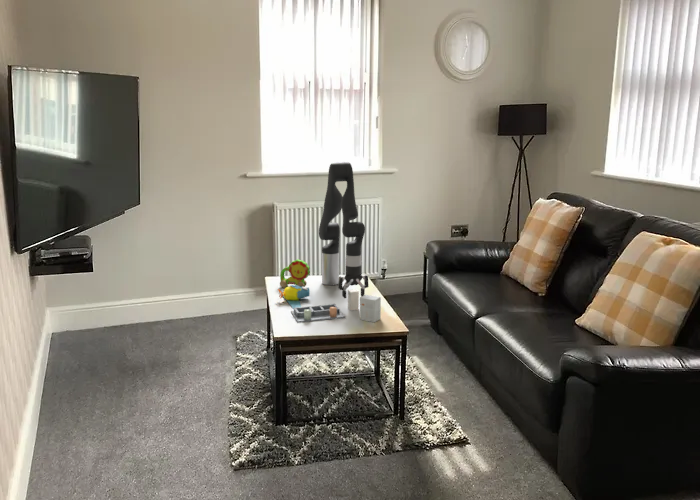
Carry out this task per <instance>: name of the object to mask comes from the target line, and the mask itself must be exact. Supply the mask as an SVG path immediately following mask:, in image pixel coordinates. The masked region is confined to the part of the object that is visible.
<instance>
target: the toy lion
mask: <svg viewBox="0 0 700 500" xmlns="http://www.w3.org/2000/svg"><path fill="white" fill-rule="evenodd" d="M310 269H311V268H310V266H309V263H307V262H306V261H304V260H303V259H301V260H300V259H299V258H298V259H296V260H295V259H294V260H292V261H291V262H290V263H289V264H288V266H285V267H284V268H283V269H282V270H281V272H280V276H279V277H280V282H279V286H280V287H281V288H286V287H288V285H294V286H295V285H297V286H304V287H307V281H306V280H305V279H307V278H308V277H309V275H310ZM285 272H289V274H290V276H289V277H288V278H286V277H285Z"/></svg>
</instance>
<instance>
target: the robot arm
mask: <svg viewBox="0 0 700 500" xmlns="http://www.w3.org/2000/svg"><path fill="white" fill-rule="evenodd" d="M328 167H329V168H328V175H327V187H326V193H325V197H324V203H323V210H322V216H321V220H320V223H319V226H318V227H319V228H318V237H319V239H320V240H321V241H330V242H329V243H328V244H324V245H323V246H322V247H321V283H322V285H325V286H335V285H337V286H338V287H337V288H338V290H340V291H342V297H343V299H347V289H348V288H349V287H350V286H358V285H359V287H360V297H362V296H364V295H366V293H365V291H366V290H365V289H367V288H369V275H367V274H366V273H365V274H362V264H363V262H362V244H363V240H364V236H365V232H366V226H365V224H364V223H363V222H362V221H353V220H355V219H357V218H358V216H359V212H358V208H357V204H356V197H355V196H356V194H355V182H354V179H355V178H354V170H353V166H352V164H351V163H350V162H348V161H342V162H341V161H340V162H338V161H337V162H332V163H330V164H329V166H328ZM338 182H346V188H345V191H344V193H343V195H342V193H341V191H340V190H339V188H338V187H337V186H336V183H338ZM340 212H341V213H342V230H341V228H340V224H339V223H338V222H331V221H332V220H334V219H335V218H336V217H337V216H338V215H339V214H340ZM341 232H342V235H343V236H344V238H355V239H353V240H352V241H348V242H346V244H345V275H344V276H340V237H341V236H340V234H341ZM362 279H363V283H364V284H363V283H362V282H361V281H362ZM344 281H345V282H344ZM343 282H344V284H343Z"/></svg>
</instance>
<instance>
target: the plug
mask: <svg viewBox="0 0 700 500" xmlns="http://www.w3.org/2000/svg"><path fill="white" fill-rule="evenodd" d="M359 292H360V291H359V290H358V289H356V288H355V289H348V290H347V309H349V311H360V297H359V295H360V294H359Z"/></svg>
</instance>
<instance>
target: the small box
mask: <svg viewBox="0 0 700 500" xmlns="http://www.w3.org/2000/svg"><path fill="white" fill-rule="evenodd" d="M381 298H382V297H381V296H377V295H370V294H364V295H363V296H362V297H361V296H360V297H359V320H362V321H365V322H366V321H368V322H372V323H376V322H378V321H380V319H381V315H382V314H381V313H382V312H381V309H382V308H381V307H382V306H381V300H382V299H381Z"/></svg>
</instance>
